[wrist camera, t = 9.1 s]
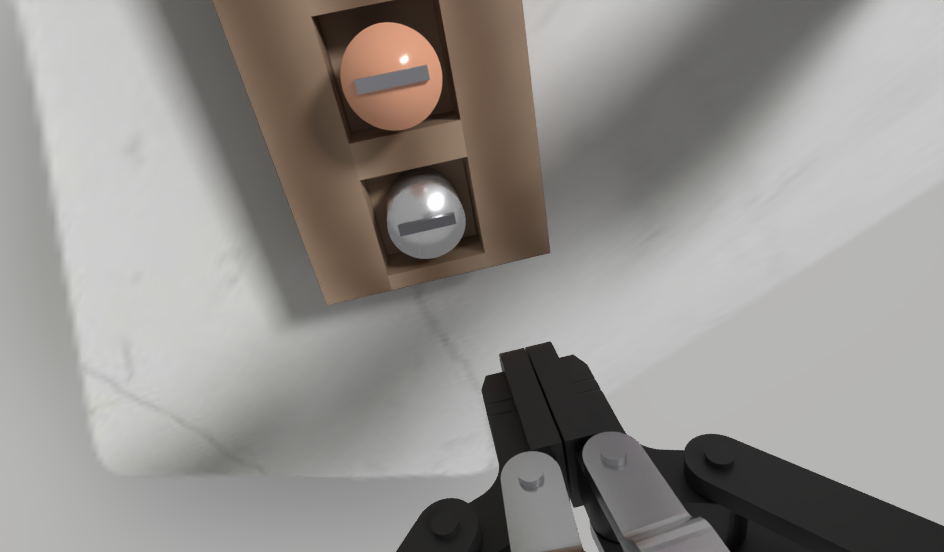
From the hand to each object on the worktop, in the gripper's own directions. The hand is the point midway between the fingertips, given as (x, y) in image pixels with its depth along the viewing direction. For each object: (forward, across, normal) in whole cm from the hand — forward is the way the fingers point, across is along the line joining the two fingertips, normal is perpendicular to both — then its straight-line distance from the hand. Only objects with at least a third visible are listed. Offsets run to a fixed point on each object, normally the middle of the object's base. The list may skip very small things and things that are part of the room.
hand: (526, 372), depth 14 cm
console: (+22, +2, -7) cm, 23 cm away
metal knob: (+19, +2, +1) cm, 19 cm away
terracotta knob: (+16, +2, -7) cm, 18 cm away
